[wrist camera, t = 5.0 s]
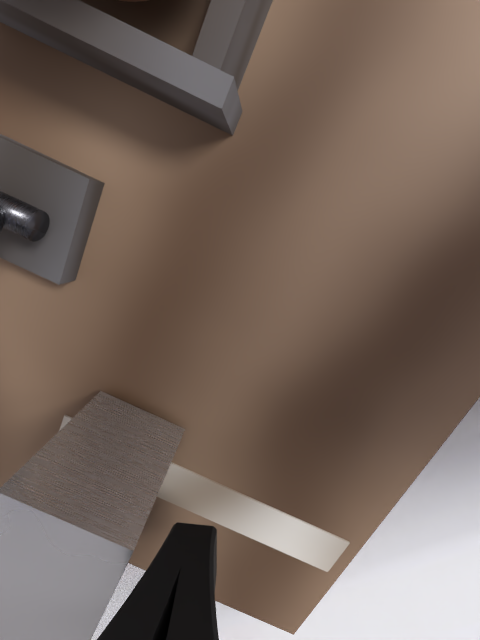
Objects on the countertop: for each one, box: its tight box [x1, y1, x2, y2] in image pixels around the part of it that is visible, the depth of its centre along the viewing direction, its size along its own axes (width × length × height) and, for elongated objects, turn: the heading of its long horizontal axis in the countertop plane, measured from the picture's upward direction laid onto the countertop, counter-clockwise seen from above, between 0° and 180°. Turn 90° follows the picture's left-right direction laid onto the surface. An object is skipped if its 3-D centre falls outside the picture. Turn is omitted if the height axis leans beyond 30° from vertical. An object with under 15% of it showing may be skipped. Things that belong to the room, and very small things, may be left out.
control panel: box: [0, 0, 480, 635], centre depth 9 cm, size 18×23×4 cm
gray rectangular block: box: [0, 391, 185, 640], centre depth 9 cm, size 3×5×4 cm, turn 155°
